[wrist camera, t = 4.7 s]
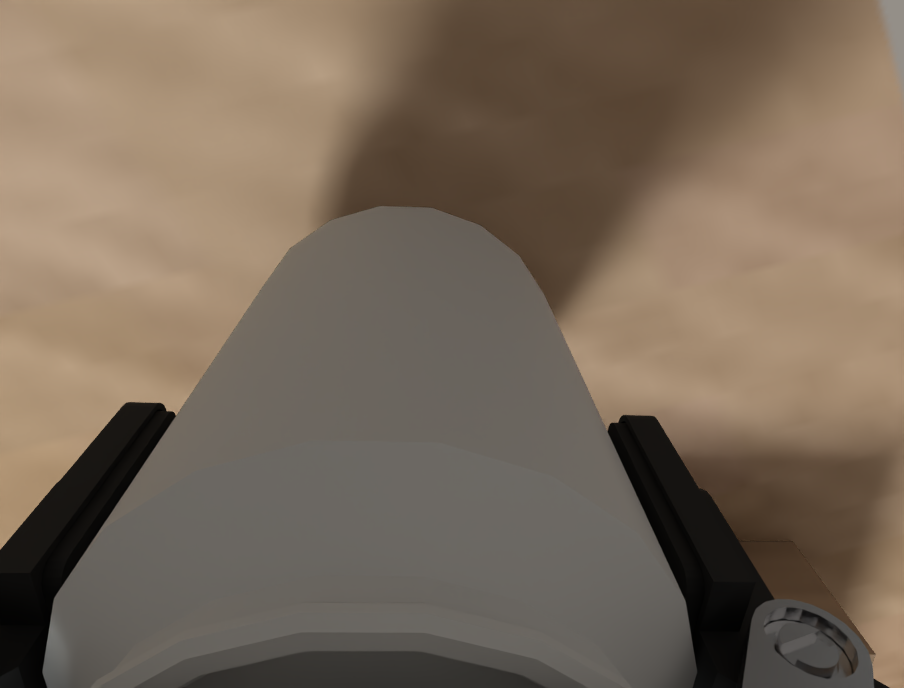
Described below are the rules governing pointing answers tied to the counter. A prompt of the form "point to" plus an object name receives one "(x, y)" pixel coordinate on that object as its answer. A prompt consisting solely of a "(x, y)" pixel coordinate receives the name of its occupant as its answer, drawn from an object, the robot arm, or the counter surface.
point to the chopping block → (794, 578)
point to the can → (380, 495)
